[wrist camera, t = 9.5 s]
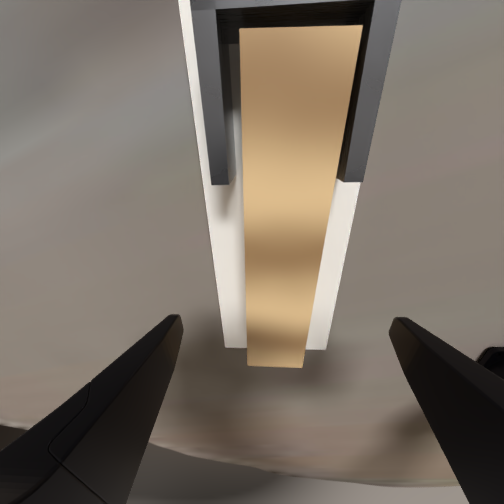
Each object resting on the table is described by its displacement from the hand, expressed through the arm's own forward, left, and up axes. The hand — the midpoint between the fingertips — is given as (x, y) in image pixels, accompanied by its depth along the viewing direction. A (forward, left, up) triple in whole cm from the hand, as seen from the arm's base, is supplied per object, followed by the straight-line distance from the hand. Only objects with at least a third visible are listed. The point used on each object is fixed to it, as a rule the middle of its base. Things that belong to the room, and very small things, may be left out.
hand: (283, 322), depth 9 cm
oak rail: (+1, 0, -6) cm, 6 cm away
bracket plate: (+1, 0, -7) cm, 7 cm away
